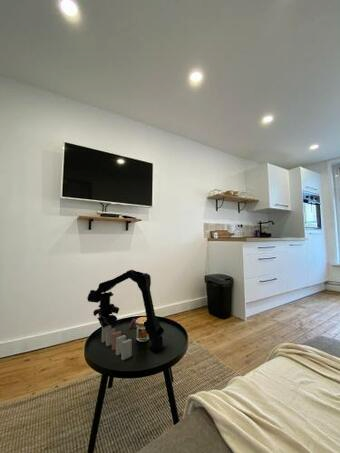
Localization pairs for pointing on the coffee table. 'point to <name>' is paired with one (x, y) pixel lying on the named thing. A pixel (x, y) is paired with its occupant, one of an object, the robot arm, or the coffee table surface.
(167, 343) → the coffee table surface
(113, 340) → the domino
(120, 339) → the domino
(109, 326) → the domino
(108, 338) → the domino
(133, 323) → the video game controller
